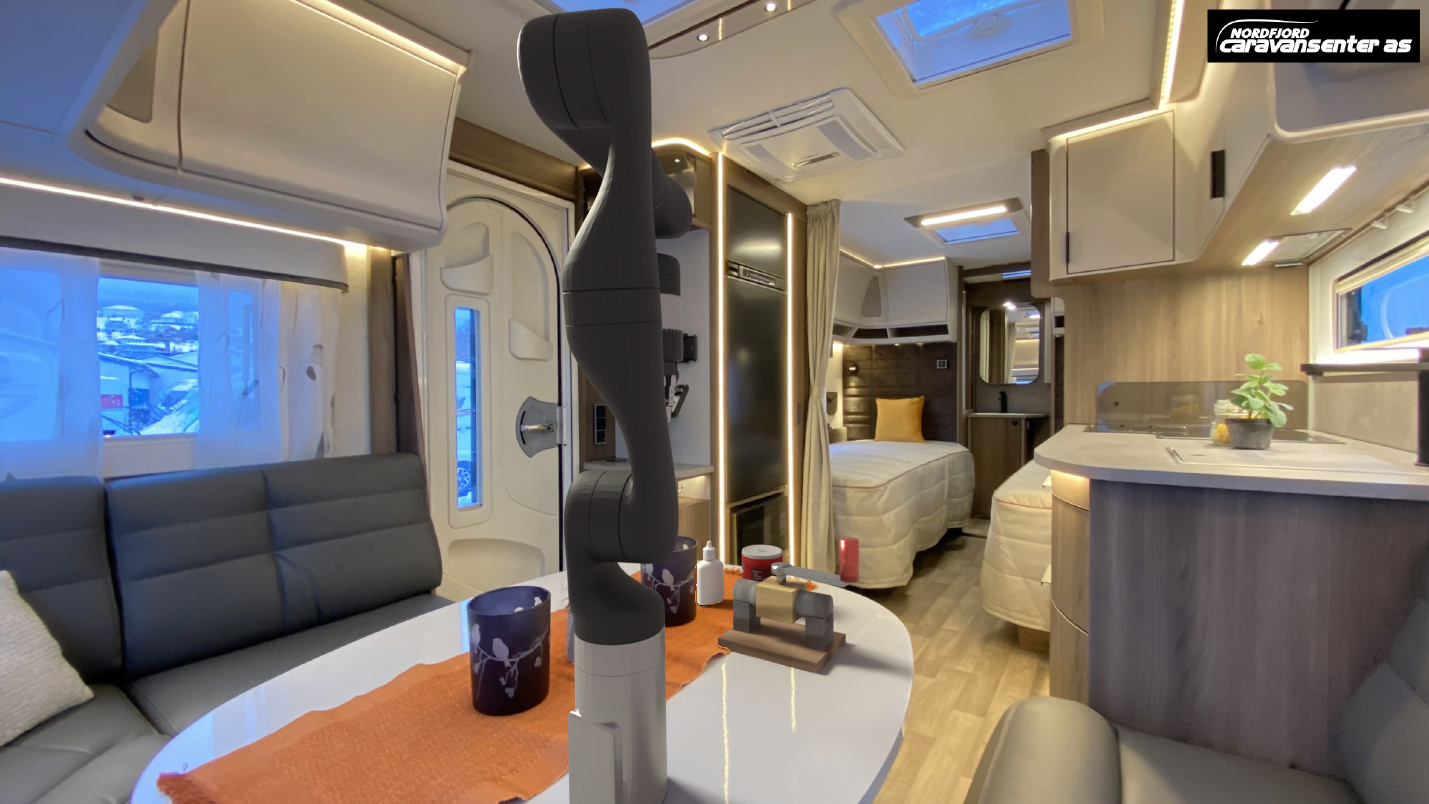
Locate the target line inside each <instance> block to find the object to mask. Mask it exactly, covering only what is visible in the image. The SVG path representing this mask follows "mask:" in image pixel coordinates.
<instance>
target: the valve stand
mask: <svg viewBox="0 0 1429 804" xmlns="http://www.w3.org/2000/svg"><path fill="white" fill-rule="evenodd" d="M732 599H733V601H732V628H730V629H729V630H728V631H726V632H724V633H723V634H722V635H720V636H718V637H717V646H718V645H720V646H722V647H727V648H728V649H730V650H729V651H731V652H735V653H739V654H742V655H746V656H749V657H754V658H756V659H761V660H765V661H769V662H771V663H776V664H779V665H784V666H787V667H790V668H791V667H792V668H794V669H798V670H801V671H806V672H810V673H813V674H818V672H820V671H821V670H822V669H823V667H825V665H826V664H827V663H828V662H829V661H830V660H831V659H832V658H833V657H834V656H835V655H836V654H837V653H838V652H839V651H840V650H841V649H842V648H844V647H843V646H845V644H846V642H847V634H846V633H843V632H838V631H834V629H835V628H834V627H835V626H834V611H833V610H834V599H833V596H832V595H831V594H826V593H822V592H817V591H816V592H815V591H812V590H811V591H810V590H808V582H807V581H803V580H798V579H791V578H787V577H786V583H777V582H776V576H771V577H769V578H767V579H765V580H764V581H762V582H758V581H752V580H747V579H742V577H740V578H738V579H737V580H736V581H735V583H734V584H733V589H732ZM801 618H804V619H805V620H804V621H805V622H804V624H802V623H797V621H799V620H800V619H801Z"/></svg>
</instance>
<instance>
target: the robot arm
mask: <svg viewBox="0 0 1429 804" xmlns="http://www.w3.org/2000/svg"><path fill="white" fill-rule="evenodd" d="M516 48H517V49H516V51H517V52H516V54H517V55H516V56H517V66H518V73H519V76H520V78H519V79H520V81H521V85H522V89H523V91H524V93H525V96H526V99H527V100H528V102H529V104H530V106H531V108H532V110H533V111H534V113H535V115H536V116H537V117H538V119H540V121H541V122H542V123H543V125H544V126H546V127H547V128H548V130H549V131H550V132H552V133H553V135H555V136H556V137H557V138H559V139H560V140H561V141H562V142H563V144H565V145H566V146H567V147H568V148H569V149H571V150H572V151H573V153H575V154H576V155H577V156H578V157H579V158H581V159H582V160H583V161H584V162H585V163H586V164H588V165H589V166H590V167H591V168H592V169H593V170H594V171H596V172H597V174H598V175H599V176H600V177H601V178H602V182H601V185H600V188H599V191H598V192H597V195H596V198H595V200H594V201H593V204H592V205H591V208H590V209H589V212H588V214H587V215H586V217H585V219H584V221H583V222H582V224H581V225H580V226H581V227H580V228H579V230H578V232H577V234H576V236H575V237H574V240H573V242H572V245H570V249H569V251H568V252H567V255H566V258H565V261H564V264H563V268H562V272H561V291H562V302H563V313H564V321H565V322H564V324H565V333H566V340H567V342H568V343H567V344H568V347H569V348H570V349H569V350H570V352H571V353H572V355H573V357H574V359H575V361H576V362H577V365H578V366H579V368H580V369H581V371H582V372H583V374H584V375H585V377H586V378H587V380H588V381H589V382H590V384H591V385H592V387H594V390H596V391H595V392H597V393H598V395H599V396H600V398H601V399H602V400H603V402H604V403H605V405H606V406H607V407H608V409H609V410H610V412H611V413H612V415H613V418H615V421H616V422H617V425H618V427H619V430H620V431H621V434H622V437H623V440H624V442H625V445H626V449H627V454H628V460H629V462H630V463H629V464H630V469H631V470H628V469H627V470H622V469H619V470H618V469H590V470H585V471H582V472H580V473H579V474H577V475H576V476H575V478H574V479H573V480H572V482H571V484H570V486H569V487H568V491H567V494H566V497H565V501H564V502H565V503H564V508H563V509H564V510H563V540H564V541H563V542H564V552H565V554H564V555H565V566H566V578H567V595H568V596H567V597H568V604H569V610H570V612H571V614H572V619H573V649H574V651H573V652H574V654H573V658H574V659H573V660H574V661H573V662H574V663H573V664H574V665H573V666H574V670H573V671H574V709H573V710H571V711H569V712H568V713H567V741H568V743H567V744H568V745H567V748H568V750H567V751H568V754H567V755H568V757H567V758H568V795H569V796H568V801H569V804H662V803H663V802H664V800H665V797H666V795H667V793H668V751H667V750H668V748H667V747H668V746H667V689H666V688H667V684H666V682H667V681H666V677H667V676H666V624H665V623H666V620H665V619H666V617H665V616H666V615H665V614H666V613H665V612H666V610H665V609H666V608H665V601H664V599H663V597H662V596H661V593H660V592H658V591H656V589H653V588H652V587H650V586H648V585H646V584H644V583H642V582H640V581H638V580H637V579H635V578H633V577H632V576H631V575H629V574H628V573H627V572H626V571H625V570H624V569H623V568H622V567H621V566H620V565H619V563H620V564H621V563H622V564H623V563H624V564H641V565H642V564H643V565H652V564H654V565H655V564H662V563H664V562H666V561H667V560H668V559H669V558H670V557H671V556H672V554H673V553H674V551H675V548H676V545H677V541H678V535H679V526H680V524H679V522H680V517H679V515H680V513H679V497H678V490H677V489H678V488H677V481H676V475H675V474H676V473H675V466H674V458H673V450H672V444H671V437H670V430H669V423H671V420H672V419H676V418H678V416H679V413H680V411H681V410H682V409H681V408H682V407H683V404H684V402H685V401H686V398H687V395H688V393H689V391H690V387H689V384H684V383H683V382H681V380H680V372H679V368H678V363H679V362H682V361H683V359H684V326H683V325H684V324H683V323H684V322H683V321H684V320H683V319H684V318H683V316H684V315H683V307H682V300H681V296H682V295H681V291H682V290H681V265H680V262H679V260H678V258H676V257H675V256H673V255H670V254H666V253H661V252H657V251H658V250H657V242H656V240H675V239H679V238H681V237H683V236H685V235H686V234H687V233H688V232H689V231H690V229H691V226H692V223H693V218H694V217H693V215H694V213H693V206H692V203H691V200H690V198H689V196H688V194H687V193H686V190H684V188H683V187H682V186H681V185H680V184H679V183H678V182H677V181H676V180H674V179H673V178H672V177H671V176H670V175H669V174H667V173H666V172H665V170H664V168H663V164H662V162H661V161H660V158H659V156H658V154H657V153H656V151H655V149H654V148H653V145H652V142H653V140H652V138H653V136H652V134H653V133H652V125H653V123H652V115H653V113H652V74H651V73H652V71H651V59H650V53H649V45H648V40H647V36H646V31H645V29H644V26H643V24H642V22H641V20H640V19H639V17H638V16H637V15H636V13H635V12H634V11H633V10H631V9H628V8H626V7H625V8H624V7H609V8H608V7H607V8H597V9H586V10H585V9H584V10H577V11H567V12H557V13H550V14H544V15H540V16H537V17H533V18H531V19H529V20H528V21H526V22H525V23H523V25H522V27H521V29H520V30H519V34H518V38H517V44H516Z"/></svg>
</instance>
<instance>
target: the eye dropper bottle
mask: <svg viewBox="0 0 1429 804" xmlns="http://www.w3.org/2000/svg"><path fill="white" fill-rule="evenodd" d="M716 553H717V551H716V547H714V546H713V545H712V540H707V541H706V546H705V547H703V548H702V556H703V557H702V558H703V559H702V560H700V561H699V562H698V563H697V564H696V565H697V584H696V586H697V603H698V604H699V605H698V604H697V603H696V604H697V605H698V606H700V605H706V604H714V603H718V602H721V601H723V600H725V571H724V570H725V569H724V567H725V566H724V563H723V562H722V561H721V560H720V559H717V558H716V557H717V554H716ZM723 602H724V601H723ZM721 603H722V602H721Z"/></svg>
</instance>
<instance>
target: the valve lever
mask: <svg viewBox="0 0 1429 804" xmlns="http://www.w3.org/2000/svg"><path fill="white" fill-rule="evenodd" d="M838 543H839V544H838V545H839V547H838V548H839V550H838V551H839V574H835V573H830V572H825V571H821V570H817V569H816V570H815V569H811V568H806V567H803V566H798V565H792V564H791V563H790V562H789V563H788V562H777V563H773V564H771V573H772V574H774V575H776V582H777V583H786V578H787V576H790V577H795V578H799V579H803V580H808V581H813V582H817V583H821V584H825V585H831V586H834V587H840V588H845V587H847V586H849V585H850V584H852V583H853V584H854V583H858V582H860V540H859V538H857V537H853V536H844V537H840V538H839V541H838Z"/></svg>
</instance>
